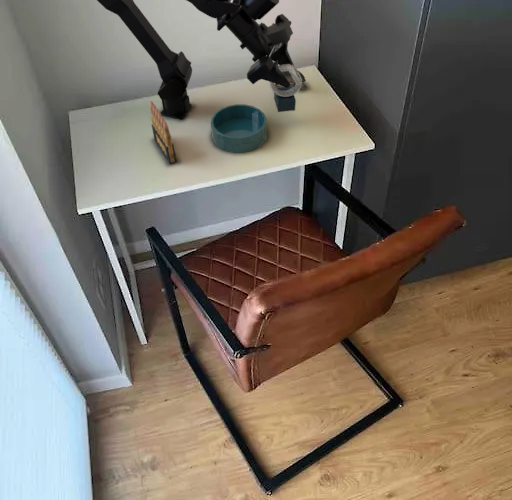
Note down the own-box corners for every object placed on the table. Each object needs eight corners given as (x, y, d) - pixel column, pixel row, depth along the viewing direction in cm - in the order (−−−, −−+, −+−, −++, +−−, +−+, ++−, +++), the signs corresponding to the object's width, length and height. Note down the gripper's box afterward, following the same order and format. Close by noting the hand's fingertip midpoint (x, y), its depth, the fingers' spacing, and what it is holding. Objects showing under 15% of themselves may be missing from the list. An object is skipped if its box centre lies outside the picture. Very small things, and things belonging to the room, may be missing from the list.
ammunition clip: (154, 140, 147) (146, 100, 138) (161, 138, 147) (153, 97, 138) (169, 164, 140) (162, 124, 131) (176, 162, 141) (169, 121, 132)
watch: (302, 109, 145) (305, 72, 136) (271, 112, 144) (272, 75, 135) (298, 95, 148) (300, 58, 139) (267, 98, 147) (268, 61, 139)
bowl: (203, 145, 145) (201, 131, 141) (225, 114, 153) (224, 99, 149) (254, 157, 141) (253, 143, 138) (274, 125, 149) (274, 110, 146)
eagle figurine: (273, 94, 156) (306, 89, 154) (269, 67, 154) (303, 61, 153) (277, 94, 163) (308, 88, 162) (273, 67, 162) (305, 62, 160)
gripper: (259, 30, 123) (307, 83, 129) (282, -9, 135) (325, 41, 141) (226, 59, 130) (273, 107, 137) (250, 19, 142) (292, 66, 148)
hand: (292, 79), depth 140 cm, fingers closed on watch, 6 cm apart
